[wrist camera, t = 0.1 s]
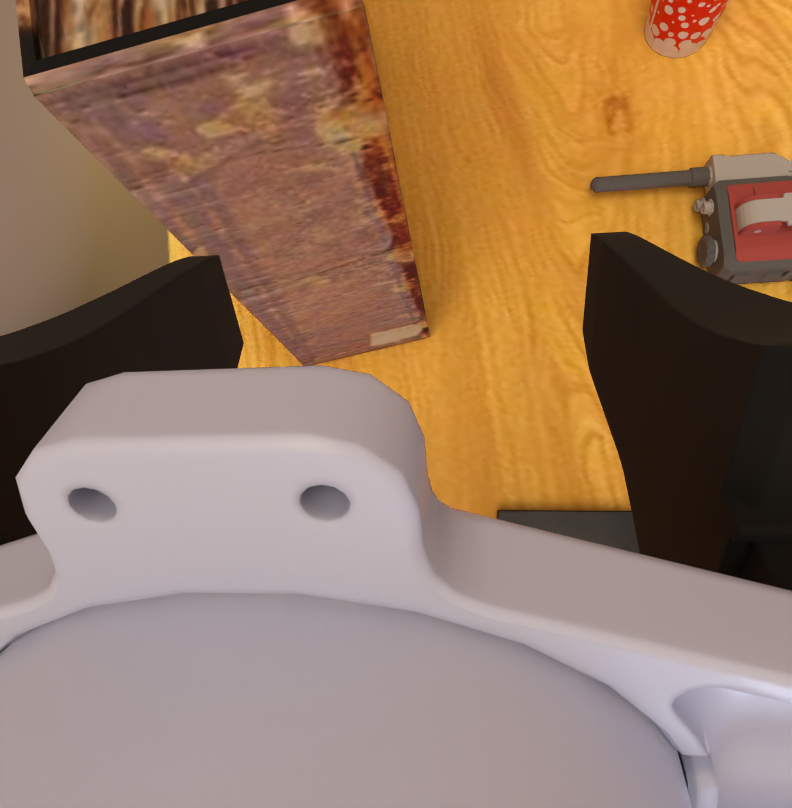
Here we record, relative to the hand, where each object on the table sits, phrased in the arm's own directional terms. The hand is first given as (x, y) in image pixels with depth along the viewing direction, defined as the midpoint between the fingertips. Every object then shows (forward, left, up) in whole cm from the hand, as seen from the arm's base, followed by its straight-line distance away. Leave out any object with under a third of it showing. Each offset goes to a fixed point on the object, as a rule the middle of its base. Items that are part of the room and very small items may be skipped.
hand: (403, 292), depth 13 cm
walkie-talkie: (+16, -20, -32) cm, 41 cm away
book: (+20, +9, -32) cm, 39 cm away
